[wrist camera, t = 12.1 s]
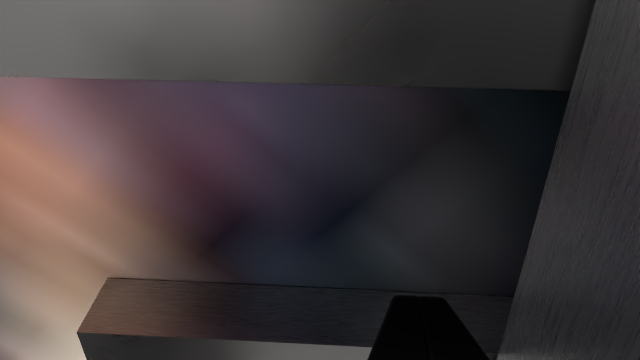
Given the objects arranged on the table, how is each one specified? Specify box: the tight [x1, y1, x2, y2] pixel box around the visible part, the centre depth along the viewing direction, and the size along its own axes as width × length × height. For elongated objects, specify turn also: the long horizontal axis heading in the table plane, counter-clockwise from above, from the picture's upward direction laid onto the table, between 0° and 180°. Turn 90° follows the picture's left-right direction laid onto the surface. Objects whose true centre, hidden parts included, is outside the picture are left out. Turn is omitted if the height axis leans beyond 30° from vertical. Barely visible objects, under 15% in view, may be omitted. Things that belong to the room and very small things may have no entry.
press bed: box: [0, 0, 596, 360], centre depth 10 cm, size 11×22×2 cm, turn 90°
